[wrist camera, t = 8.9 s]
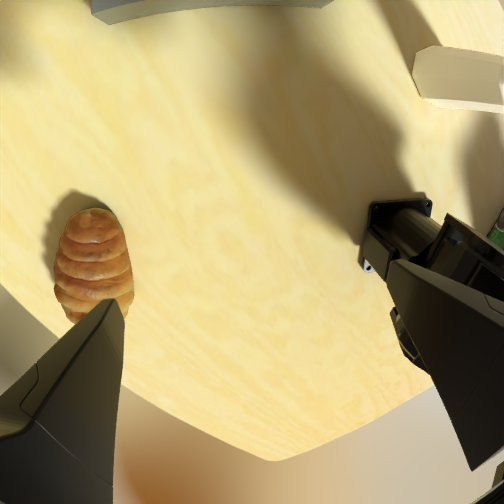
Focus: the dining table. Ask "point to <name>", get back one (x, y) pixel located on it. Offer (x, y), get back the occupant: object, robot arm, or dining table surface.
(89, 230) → the pastry
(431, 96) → the pepper shaker
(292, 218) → the dining table surface
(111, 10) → the bin
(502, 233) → the coffee box
